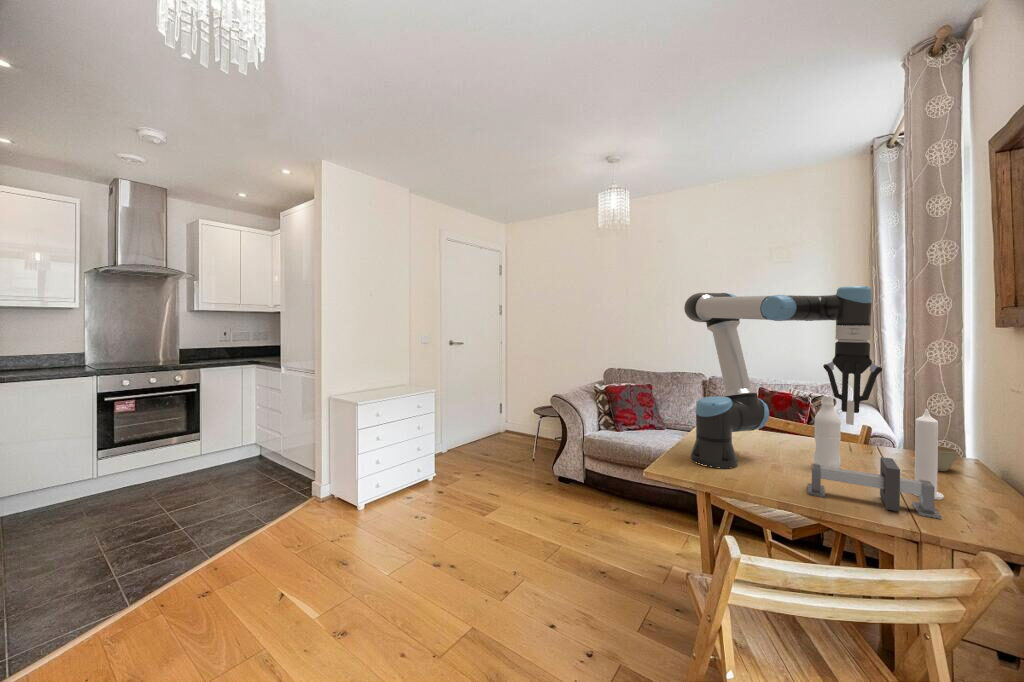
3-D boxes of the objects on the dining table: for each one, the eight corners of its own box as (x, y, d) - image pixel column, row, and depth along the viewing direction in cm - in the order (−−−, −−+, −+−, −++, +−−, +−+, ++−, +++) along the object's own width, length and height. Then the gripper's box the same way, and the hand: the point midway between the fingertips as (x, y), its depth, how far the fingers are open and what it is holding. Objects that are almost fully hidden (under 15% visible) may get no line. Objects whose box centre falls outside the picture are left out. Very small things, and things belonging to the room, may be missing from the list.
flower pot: (937, 464, 140) (938, 444, 140) (967, 474, 130) (967, 452, 130) (906, 463, 141) (907, 443, 141) (934, 473, 131) (934, 452, 131)
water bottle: (841, 474, 131) (841, 399, 130) (813, 470, 135) (814, 397, 134) (840, 468, 136) (840, 396, 136) (813, 464, 141) (814, 394, 140)
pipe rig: (807, 494, 116) (807, 467, 116) (807, 485, 122) (807, 460, 122) (941, 519, 100) (941, 488, 99) (933, 507, 106) (933, 479, 106)
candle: (906, 487, 120) (907, 405, 119) (940, 493, 115) (942, 408, 115) (910, 495, 114) (911, 409, 114) (946, 501, 110) (947, 412, 109)
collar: (886, 509, 105) (886, 467, 104) (880, 495, 113) (880, 457, 113) (899, 511, 103) (900, 469, 103) (892, 497, 112) (892, 458, 112)
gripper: (823, 341, 113) (821, 423, 114) (886, 342, 105) (882, 430, 106) (822, 340, 119) (820, 417, 120) (881, 341, 111) (878, 424, 112)
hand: (849, 423), depth 113 cm, fingers closed
